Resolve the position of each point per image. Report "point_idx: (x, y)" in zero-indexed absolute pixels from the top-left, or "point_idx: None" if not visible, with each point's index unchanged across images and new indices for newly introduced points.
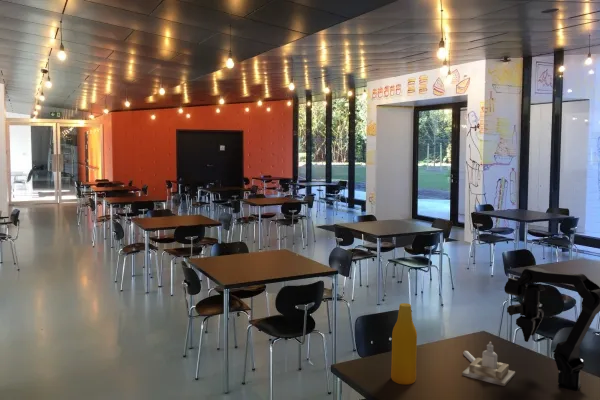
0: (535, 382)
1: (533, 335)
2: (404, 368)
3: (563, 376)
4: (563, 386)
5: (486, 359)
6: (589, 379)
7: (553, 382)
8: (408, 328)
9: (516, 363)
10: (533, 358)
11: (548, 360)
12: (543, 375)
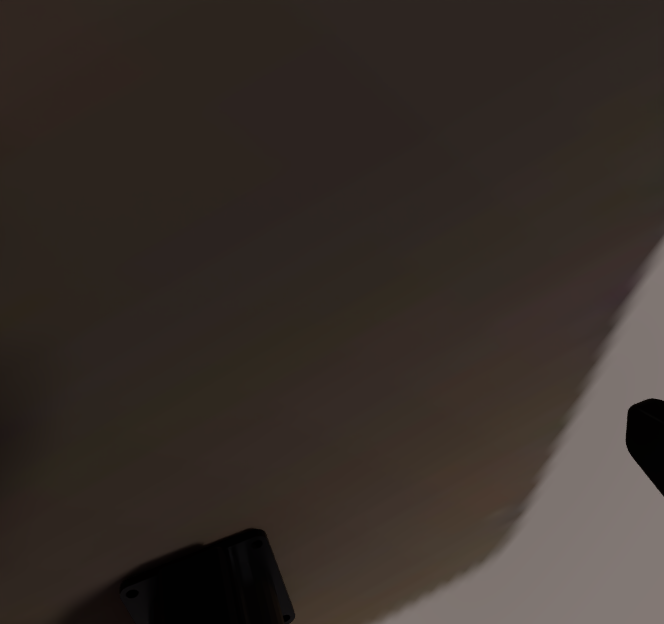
0: (11, 458)
1: (630, 450)
2: None
3: None
4: (134, 615)
5: None
6: (444, 566)
7: (174, 515)
8: None
9: (340, 41)
10: (609, 98)
11: (634, 221)
12: (251, 395)
